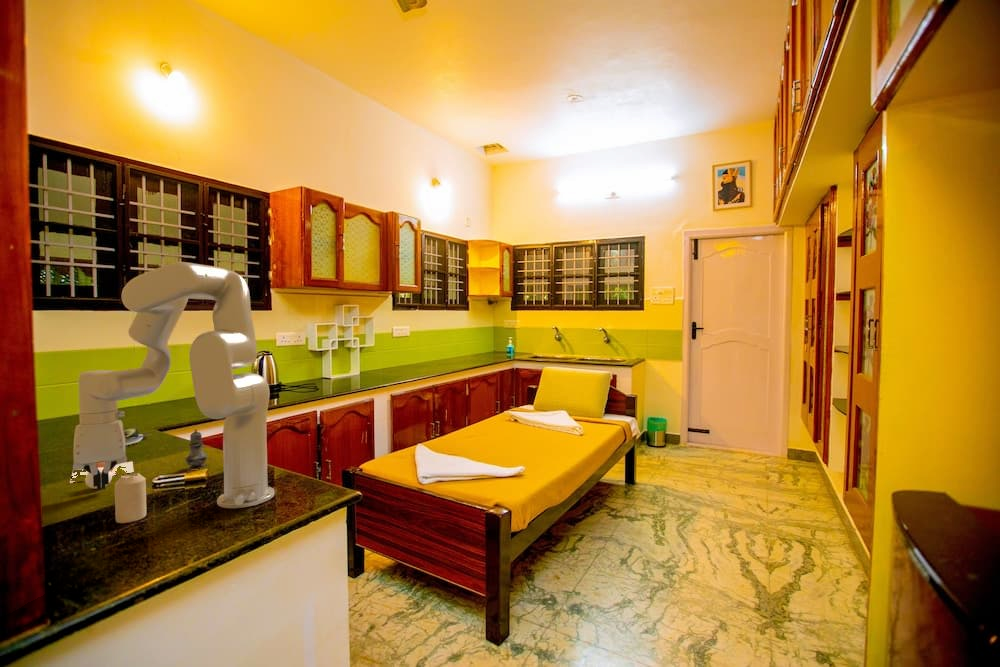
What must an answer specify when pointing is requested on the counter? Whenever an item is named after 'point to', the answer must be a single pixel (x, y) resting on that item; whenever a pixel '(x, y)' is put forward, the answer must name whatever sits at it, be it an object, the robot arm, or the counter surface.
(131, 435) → the salad plate
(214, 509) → the counter surface
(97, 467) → the object ball
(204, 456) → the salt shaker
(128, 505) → the candle
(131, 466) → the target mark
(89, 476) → the cue ball
